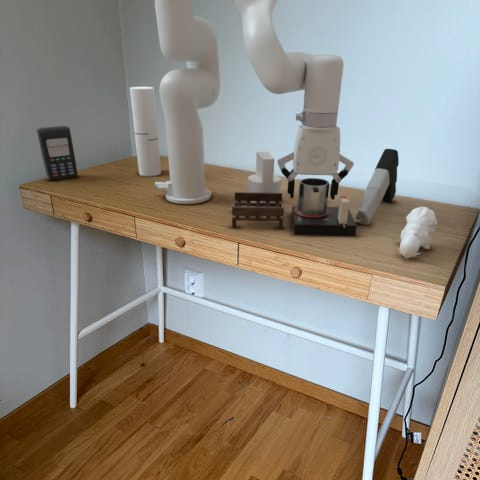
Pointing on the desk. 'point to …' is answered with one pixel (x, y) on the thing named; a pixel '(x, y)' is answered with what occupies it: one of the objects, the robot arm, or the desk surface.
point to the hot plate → (310, 216)
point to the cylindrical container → (145, 130)
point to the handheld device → (379, 186)
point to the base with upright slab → (264, 176)
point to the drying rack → (257, 207)
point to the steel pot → (313, 196)
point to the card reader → (57, 152)
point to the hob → (323, 224)
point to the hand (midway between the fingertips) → (311, 197)
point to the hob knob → (343, 210)
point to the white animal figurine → (417, 231)
